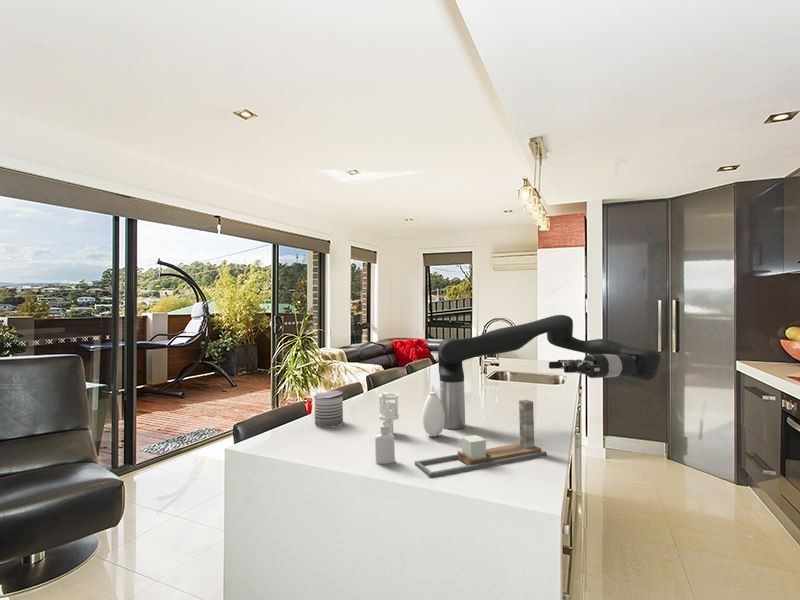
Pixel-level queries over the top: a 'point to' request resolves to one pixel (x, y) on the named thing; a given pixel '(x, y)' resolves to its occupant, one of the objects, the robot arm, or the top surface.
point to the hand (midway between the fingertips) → (556, 367)
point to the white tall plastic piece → (389, 409)
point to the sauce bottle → (433, 415)
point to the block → (474, 447)
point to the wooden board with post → (513, 450)
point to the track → (469, 467)
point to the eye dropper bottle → (384, 446)
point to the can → (328, 409)
